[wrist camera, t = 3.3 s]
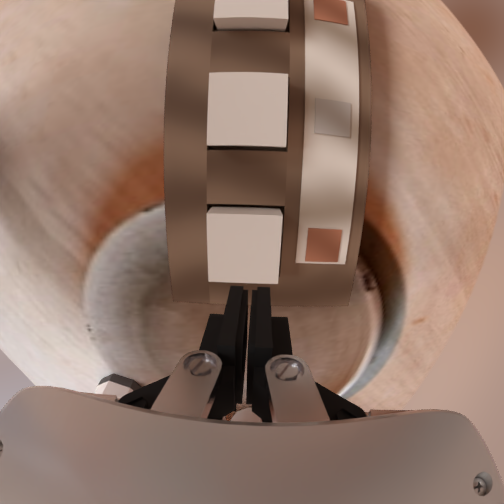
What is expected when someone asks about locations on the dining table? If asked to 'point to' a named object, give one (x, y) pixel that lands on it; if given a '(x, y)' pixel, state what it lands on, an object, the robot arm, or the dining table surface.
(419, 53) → the dining table surface
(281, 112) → the button
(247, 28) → the button
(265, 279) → the button
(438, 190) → the dining table surface
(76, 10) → the dining table surface
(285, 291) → the button board
